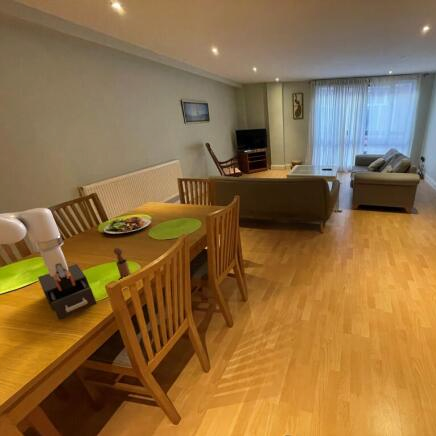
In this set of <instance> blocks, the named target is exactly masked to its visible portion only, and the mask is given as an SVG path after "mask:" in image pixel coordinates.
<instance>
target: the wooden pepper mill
mask: <svg viewBox="0 0 436 436" xmlns="http://www.w3.org/2000/svg"><path fill="white" fill-rule="evenodd" d="M113 253H114V254H115V255H116V256H117V257H116V259H117V261H116V263H115V264H116V267H117V269H118V273H119V277H118V279H117V281H118V280H120V279H122V278H123V277H126V276H128V275H130V274H132V273H131V270H130V267H129V263H128V260H127V259H125V258H124V255H122V253H123V248H122V247H120V246H117V247H115V248H114V249H113Z"/></svg>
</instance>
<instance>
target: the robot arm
mask: <svg viewBox="0 0 436 436" xmlns="http://www.w3.org/2000/svg"><path fill="white" fill-rule="evenodd" d="M57 225H58V224H57V223H56V220H55V218H54V215H53V213H52V211H51V209H49V208H46V207H36V208H30V209H26V210H24V211H16V212H15V211H14V212H5V213H0V245H12V244H15V243H16V244H17V243H18V242H20V241H22V240H23V239H24V238H25V236H26V235H27V236H28V239H29V240H30V241H29V242H30V243H31V245H32V248H33V250H34V252H37V253H38V252H39V253H40V256H41V259H42V261H43V263H44V265H45V268H46V270H47V272H48V273H49V274H50V276H54V275H57V278H58V280H59V281H58V282H59V285H60V287H61V289H62V290H65V289H68V288H70V287H73V284H72V282H71V280H70V277H68V275H67V272H66V271H68V267H69V266H68V263H67V261H66V258H65V255H64V252H63V250H62V248H61V247H62V246H63V245H64V241H63V239H62V236H61V233H60V230H59V228H58V226H57ZM64 273H65V274H64ZM59 275H60V276H59Z"/></svg>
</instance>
